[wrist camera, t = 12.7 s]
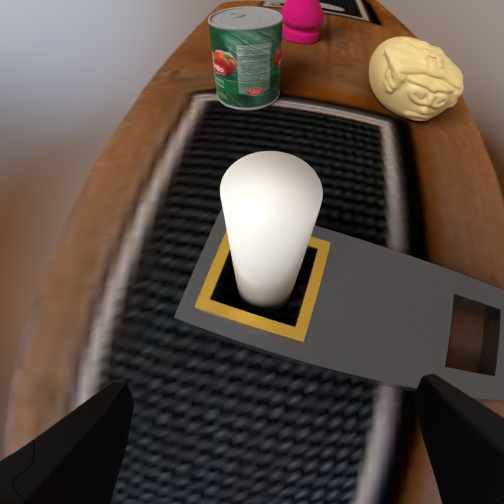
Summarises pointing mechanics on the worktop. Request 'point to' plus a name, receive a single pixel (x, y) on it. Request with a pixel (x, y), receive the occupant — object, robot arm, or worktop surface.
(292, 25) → the pepper mill
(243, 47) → the canned tomato
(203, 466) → the worktop surface
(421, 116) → the sculpture
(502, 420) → the robot arm
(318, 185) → the peg
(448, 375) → the grey board with holes
